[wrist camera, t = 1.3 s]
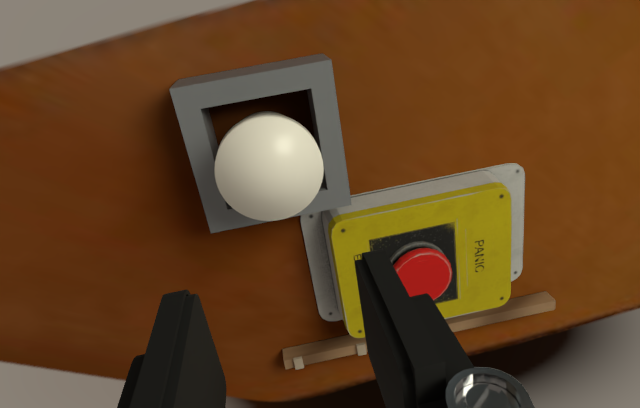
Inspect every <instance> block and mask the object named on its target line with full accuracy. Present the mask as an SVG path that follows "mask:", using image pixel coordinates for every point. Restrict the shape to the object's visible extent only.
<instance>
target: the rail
mask: <svg viewBox="0 0 640 408" xmlns="http://www.w3.org/2000/svg"><path fill="white" fill-rule="evenodd" d="M555 303H556V300H555V299H554V298H553V297H552V296H550V295H549V294H548V293H547V292H546V291H545V292H540V293H536V294H531V295H526V296H522V297H517V298H513V299H509V300H508V301H507V302H506V303H505V304H504V305H502V306H500V307H496V308H492V309H488V310H483V311H479V312H474V313H470V314H466V315H461V316H457V317H452V318H448V319H445V320H446V322H447V324H448V325H449V327H450V329H451V330H452V332H456V331H461V330H465V329H470V328H474V327H479V326H483V325H488V324H492V323H497V322H501V321H506V320H510V319H515V318H519V317H524V316H528V315H533V314H537V313H542V312H546V311H551V310H555ZM282 350H283V361H284V365H285V369H290V368H294V367H295V369H296V370H297V369H302V368H304V365H308V364H312V363H317V362H321V361H326V360H330V359H335V358H339V357H344V356H348V355H353V354H357V353H358V356H360V355H365V354H366V351H368V350H367V344H366V338H365V337H364V338H354V337H353V336H351V335H350V334H349V335H344V336H340V337H335V338H331V339H326V340H322V341H317V342H312V343H308V344H303V345H299V346H294V347H290V348H285V349H282Z"/></svg>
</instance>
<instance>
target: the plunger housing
mask: <svg viewBox="0 0 640 408" xmlns="http://www.w3.org/2000/svg"><path fill="white" fill-rule="evenodd" d="M305 89H307V95H308V101H309V107H310V113H311V119H312V125H313V131H314V137H315V141H316V143H317V145H318V148H319V150H320V153H321V155H322V159H323V167H324V172H323V180H322V183H321V186H320V189H319V191H318V193H317V195H316V196H315V198H314V199H313V200H312V202H311V203H310V204H309V205H308V206H307V207H306V208H305V209H303V210H302V211H300V212H299V213H297V214H295V215H293V216H291V217H295V216H300V215H305V214H309V213H314V212H319V211H324V210H329V209H334V208H339V207H344V206H349V205H352V204H351V197H350V190H349V182H348V175H347V168H346V161H345V154H344V147H343V140H342V133H341V126H340V118H339V111H338V104H337V97H336V90H335V83H334V76H333V69H332V61H331V59H330V58H328V57H327V56H326V55H324V54H323V53H322V54H317V55H311V56H306V57H300V58H294V59H289V60H283V61H278V62H272V63H267V64H261V65H256V66H250V67H245V68H239V69H234V70H228V71H223V72H217V73H212V74H206V75H201V76H195V77H189V78H184V79H178V80H177V81H176V82H175V83H174V84H173V86H172V87H171V88H170V89H169V90H170V94H171V97H172V101H173V104H174V107H175V111H176V114H177V118H178V121H179V125H180V128H181V132H182V135H183V138H184V142H185V145H186V149H187V152H188V156H189V159H190V163H191V166H192V170H193V173H194V176H195V180H196V183H197V187H198V190H199V194H200V197H201V201H202V204H203V208H204V211H205V214H206V218H207V221H208V225H209V228H210V232H211V233H215V232H220V231H225V230H230V229H235V228H240V227H245V226H250V225H255V224H260V223H265V222H270V221H261V220H256V219H252V218H249V217H246V216H244V215H242V214H240V213H239V212H237V211H236V210H234V209H233V208H232V207H231V206H230V205H229V204H228V203H227V202H226V201H225V199H224V198H223V197H222V195H221V193H220V191H219V189H218V186H217V184H216V179H215V170H214V169H215V160H216V156H217V151H218V148H219V147H218V143H217V139H216V135H215V131H214V128H213V124H212V120H211V116H210V112H209V108H208V107H214V106H219V105H224V104H230V103H235V102H241V101H246V100H251V99H257V98H262V97H268V96H273V95H278V94H284V93H289V92H295V91H300V90H305ZM289 218H290V217H289Z"/></svg>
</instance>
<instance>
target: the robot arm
mask: <svg viewBox="0 0 640 408" xmlns="http://www.w3.org/2000/svg"><path fill="white" fill-rule="evenodd" d="M355 269H356V276H357V283H358V290H359V297H360V304H361V310H362V317H363V324H364V331H365V338H366V344H367V350H368V354H369V357H370V361H371V364H372V367H373V370H374V373H375V376H376V379H377V382H378V385H379V388H380V390H381V393H382V396H383V399H384V402H385V405H386V408H535V407H534V405H533V403H532V401H531V399H530V397H529V394H528V393H527V391H526V390H525V388H524V387H523V386H522V384H521V383H520V382H518V381H517V380H516V379H515V378H514V377H512V376H510V375H509V374H507V373H504V372H503V371H500V370H496V369H492V368H485V367H475V368H474V366H473V365H472V363H471V361H470V360H469V358H468V356H467V355H466V353H465V351H464V350H463V348H462V347H461V345H460V343H459V342H458V340H457V338H456V337H455V335H454V334H453V332H452V330H451V329H450V327H449V325H448V324H447V322H446V320H445V319H444V317H443V316H442V314H441V312H440V311H439V309H438V307H437V306H436V304H435V302H434V301H433V299H432V298H431V296H430V295H429V294H427V293H425V294H421V295H416V296H411V297H410V296H409V294H408V292H407V291H406V289H405V287H404V285H403V283H402V281H401V280H400V278H399V276H398V274H397V272H396V270H395V268H394V267H393V265H392V263H391V261H390V259H389V257H388V255H387V254H386V252H385V250H384V249H379V250H374V251H369V252H365V253H362V259H359V260H355ZM225 403H226V381H225V376H224V373H223V370H222V367H221V364H220V361H219V358H218V355H217V351H216V348H215V345H214V342H213V339H212V336H211V333H210V330H209V327H208V324H207V321H206V317H205V314H204V311H203V308H202V305H201V302H200V299H199V296H198V295H197V294H193V295H190V293H189V291H188V290H183V291H178V292H173V293H168V294H164V295H163V297H162V299H161V303H160V306H159V309H158V313H157V316H156V319H155V323H154V326H153V330H152V333H151V336H150V340H149V343H148V346H147V350H146V353H145V354H143V355H139V356H136V357H135V358H134V360H133V362H132V364H131V367H130V370H129V373H128V376H127V379H126V382H125V385H124V388H123V391H122V394H121V398H120V400H119V403H118V407H117V408H225Z"/></svg>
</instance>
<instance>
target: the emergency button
mask: <svg viewBox="0 0 640 408" xmlns="http://www.w3.org/2000/svg"><path fill="white" fill-rule="evenodd" d="M524 195H525V172H524V169H523V168H522V167H521V166H519V165H518V164H516V163H506V164H502V165H497V166H492V167H487V168H482V169H477V170H473V171H468V172H463V173H458V174H453V175H448V176H444V177H439V178H434V179H429V180H424V181H419V182H414V183H410V184H405V185H400V186H395V187H390V188H385V189H381V190H376V191H371V192H366V193H361V194H356V195H352V196H350V197H351V204H352V205H349V206H344V207H339V208H334V209H329V210H324V211H319V212H314V213H309V214H305V215H301V217H300V222H301V227H302V232H303V237H304V242H305V247H306V252H307V257H308V262H309V266H310V271H311V276H312V281H313V286H314V291H315V296H316V301H317V306H318V311H319V314H320V316H321V317H322V319H324V320H327V321H339V320H343V321H344V325H345V327H346V329H347V331H348V332H349V334H350V335H351V336H353V337H354V338H364V337H365V331H364V324H363V317H362V310H361V304H360V297H359V290H358V283H357V276H356V269H355V260H359V259H362V253H365V252H369V251H374V250H379V249H384V250H385V252H386V254H387V255H388V257H389V259H390V261H391V263H392V265H393V267H394V268H395V270H396V272H397V274H398V276H399V278H400V280H401V281H402V283H403V285H404V287H405V289H406V291H407V292H408V294H409V296H410V297H411V296H416V295H421V294H425V293H427V294H429V295H430V296H431V298H432V299H433V301H434V302H435V304H436V306H437V307H438V309H439V311H440V312H441V314H442V316H443V317H444V319H448V318H452V317H457V316H461V315H466V314H470V313H474V312H479V311H483V310H488V309H492V308H496V307H500V306H502V305H504V304H505V303H506V302H507V301H508V300H509V297H510V294H511V281H513V280H515V279H516V278H517V277H518V276H519V275H520V274H521V271H522V269H523V232H524Z"/></svg>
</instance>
